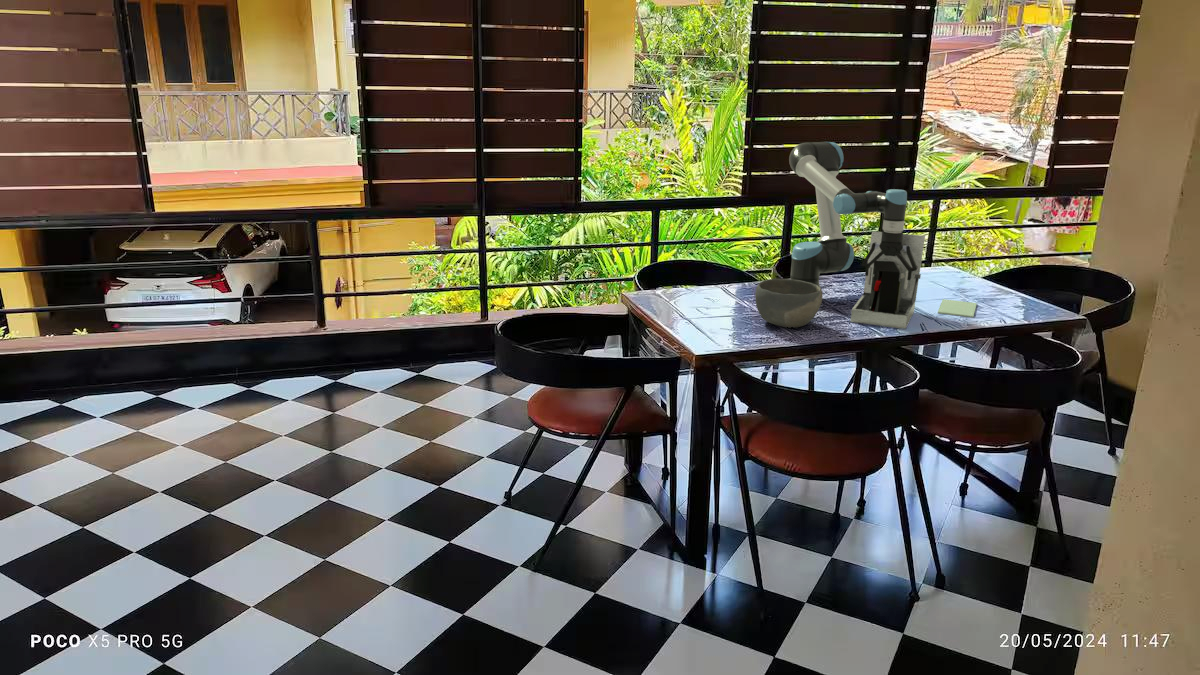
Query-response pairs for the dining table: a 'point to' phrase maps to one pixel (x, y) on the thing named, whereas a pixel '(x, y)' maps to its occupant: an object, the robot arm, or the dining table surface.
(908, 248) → the robot arm
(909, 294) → the case
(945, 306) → the mat
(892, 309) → the electrical component
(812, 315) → the bowl
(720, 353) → the dining table surface
